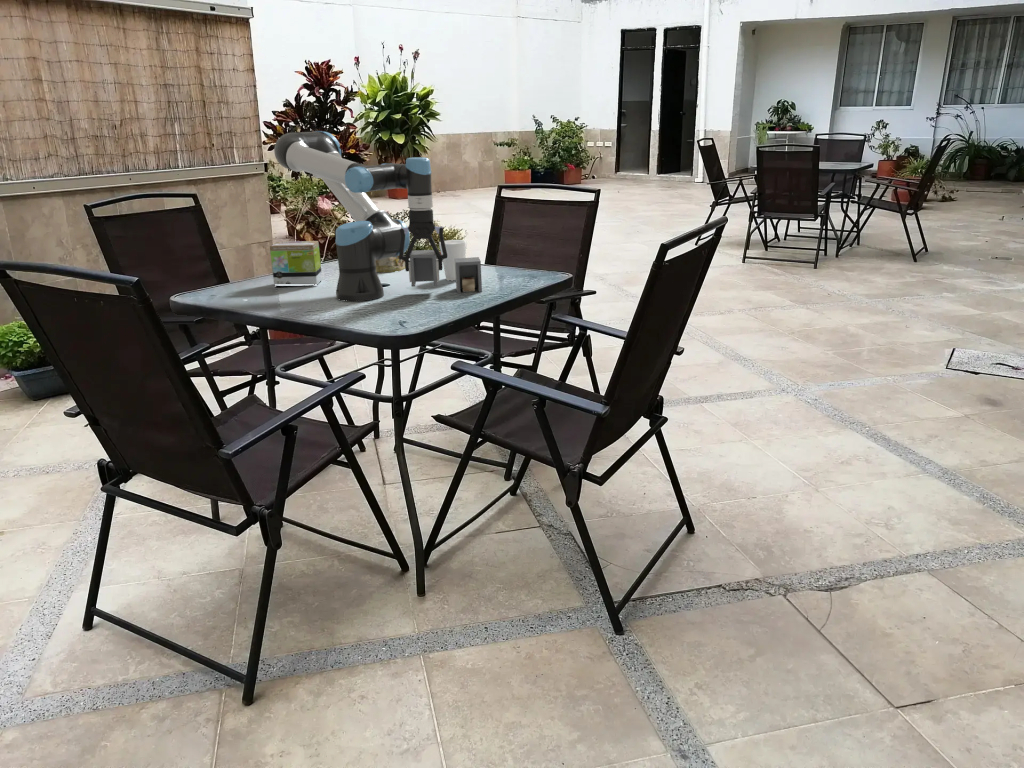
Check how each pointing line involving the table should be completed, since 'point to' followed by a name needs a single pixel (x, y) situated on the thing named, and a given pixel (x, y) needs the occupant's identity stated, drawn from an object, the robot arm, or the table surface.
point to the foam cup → (453, 256)
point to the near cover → (423, 266)
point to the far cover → (468, 271)
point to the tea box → (296, 262)
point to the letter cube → (468, 283)
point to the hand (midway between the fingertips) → (424, 280)
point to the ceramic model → (390, 264)
